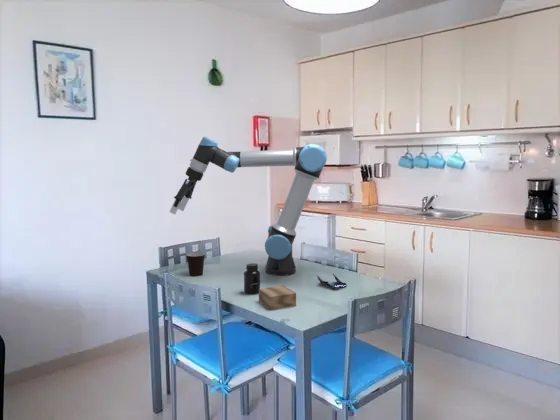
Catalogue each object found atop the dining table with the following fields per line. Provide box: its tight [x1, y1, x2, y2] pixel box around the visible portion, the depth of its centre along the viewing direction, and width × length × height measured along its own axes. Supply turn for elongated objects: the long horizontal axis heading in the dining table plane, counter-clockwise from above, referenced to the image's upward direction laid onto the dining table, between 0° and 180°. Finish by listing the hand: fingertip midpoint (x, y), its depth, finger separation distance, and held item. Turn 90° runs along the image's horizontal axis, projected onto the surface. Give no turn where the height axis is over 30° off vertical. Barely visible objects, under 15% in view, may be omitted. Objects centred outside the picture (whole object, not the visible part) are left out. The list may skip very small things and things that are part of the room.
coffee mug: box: [185, 251, 206, 277], centre depth 219 cm, size 12×9×10 cm
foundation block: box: [258, 285, 297, 311], centre depth 177 cm, size 11×11×5 cm
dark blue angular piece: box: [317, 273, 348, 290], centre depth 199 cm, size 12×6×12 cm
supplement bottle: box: [243, 262, 261, 295], centre depth 191 cm, size 7×7×12 cm
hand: (176, 211), depth 207 cm, fingers open, 13 cm apart
